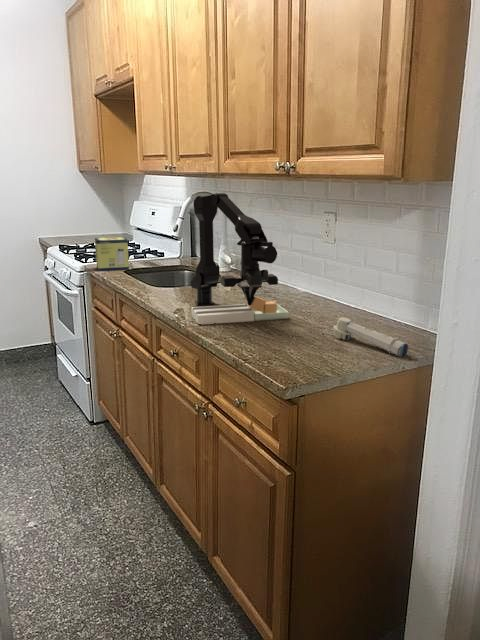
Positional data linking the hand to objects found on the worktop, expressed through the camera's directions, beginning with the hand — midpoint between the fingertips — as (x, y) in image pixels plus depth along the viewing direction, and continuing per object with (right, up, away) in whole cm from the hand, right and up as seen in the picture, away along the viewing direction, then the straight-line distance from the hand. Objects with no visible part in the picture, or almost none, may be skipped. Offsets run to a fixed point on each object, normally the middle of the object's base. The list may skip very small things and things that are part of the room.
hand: (249, 305), depth 188 cm
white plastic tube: (+34, -13, -30) cm, 47 cm away
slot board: (-9, -4, -1) cm, 10 cm away
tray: (+6, -3, +3) cm, 8 cm away
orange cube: (+5, -1, +1) cm, 5 cm away
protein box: (-68, +21, +93) cm, 117 cm away
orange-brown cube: (+2, -1, +1) cm, 3 cm away
